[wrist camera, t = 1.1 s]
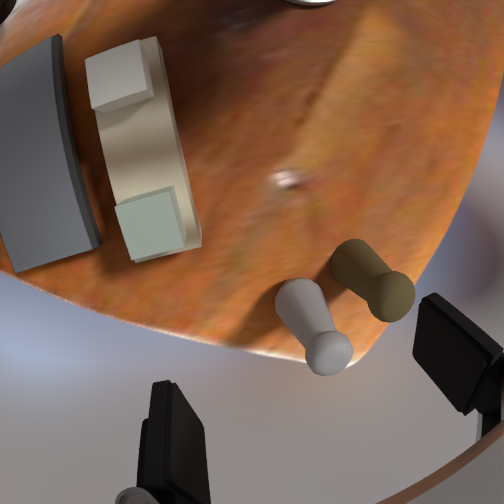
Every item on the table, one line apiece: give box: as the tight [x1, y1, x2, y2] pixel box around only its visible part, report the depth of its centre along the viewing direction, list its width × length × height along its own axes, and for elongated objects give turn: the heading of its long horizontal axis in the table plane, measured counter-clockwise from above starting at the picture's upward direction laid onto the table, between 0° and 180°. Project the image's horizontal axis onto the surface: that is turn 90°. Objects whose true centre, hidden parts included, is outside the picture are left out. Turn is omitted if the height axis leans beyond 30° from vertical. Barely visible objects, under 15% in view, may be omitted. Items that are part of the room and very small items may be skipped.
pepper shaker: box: [330, 239, 415, 322], centre depth 29 cm, size 6×6×11 cm
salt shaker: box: [275, 278, 353, 376], centre depth 29 cm, size 6×6×13 cm
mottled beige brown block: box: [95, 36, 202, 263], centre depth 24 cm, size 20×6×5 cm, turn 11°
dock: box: [0, 34, 103, 273], centre depth 22 cm, size 24×13×3 cm, turn 11°
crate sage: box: [115, 185, 187, 260], centre depth 23 cm, size 4×4×4 cm
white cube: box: [85, 40, 155, 113], centre depth 18 cm, size 4×4×4 cm
